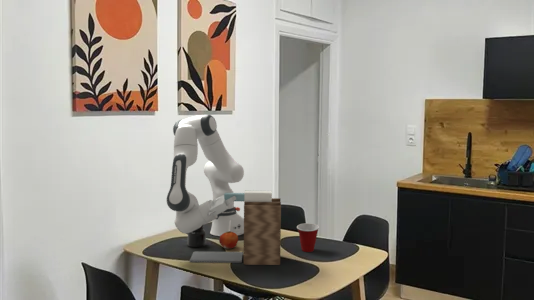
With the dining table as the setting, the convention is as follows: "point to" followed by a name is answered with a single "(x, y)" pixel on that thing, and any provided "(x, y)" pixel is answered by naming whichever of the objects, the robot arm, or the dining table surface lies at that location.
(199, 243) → the ink bottle
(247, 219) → the stand
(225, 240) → the tomato
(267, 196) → the block
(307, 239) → the plastic cup
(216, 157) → the robot arm
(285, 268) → the dining table surface
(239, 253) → the mat
